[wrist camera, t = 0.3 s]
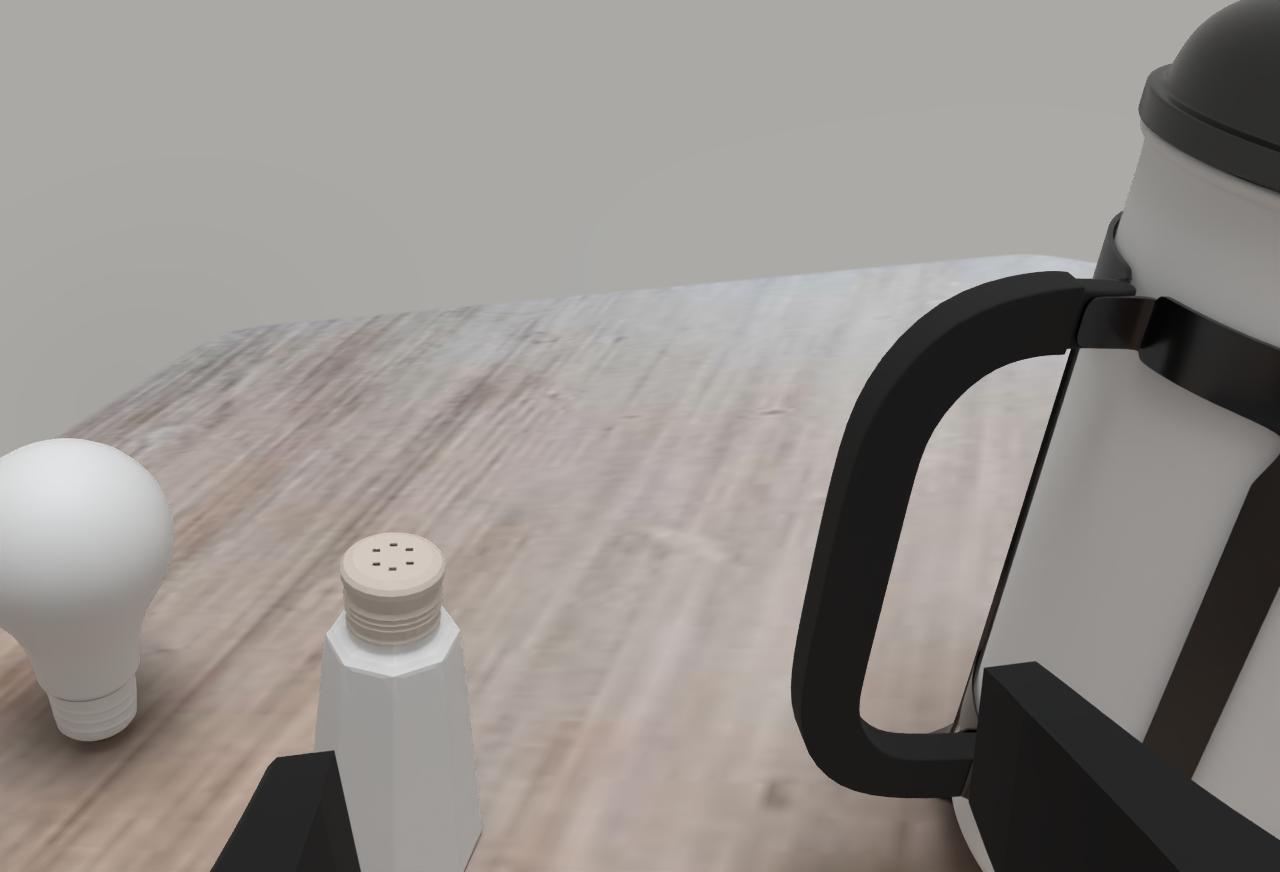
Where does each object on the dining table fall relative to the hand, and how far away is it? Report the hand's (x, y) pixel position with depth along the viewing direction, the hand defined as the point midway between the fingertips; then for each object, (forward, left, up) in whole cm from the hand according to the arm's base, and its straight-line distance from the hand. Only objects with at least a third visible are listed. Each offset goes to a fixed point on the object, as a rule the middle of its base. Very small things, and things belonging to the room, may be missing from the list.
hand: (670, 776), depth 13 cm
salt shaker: (+17, +4, -21) cm, 27 cm away
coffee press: (+14, -18, -21) cm, 31 cm away
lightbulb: (+22, +14, -21) cm, 34 cm away
